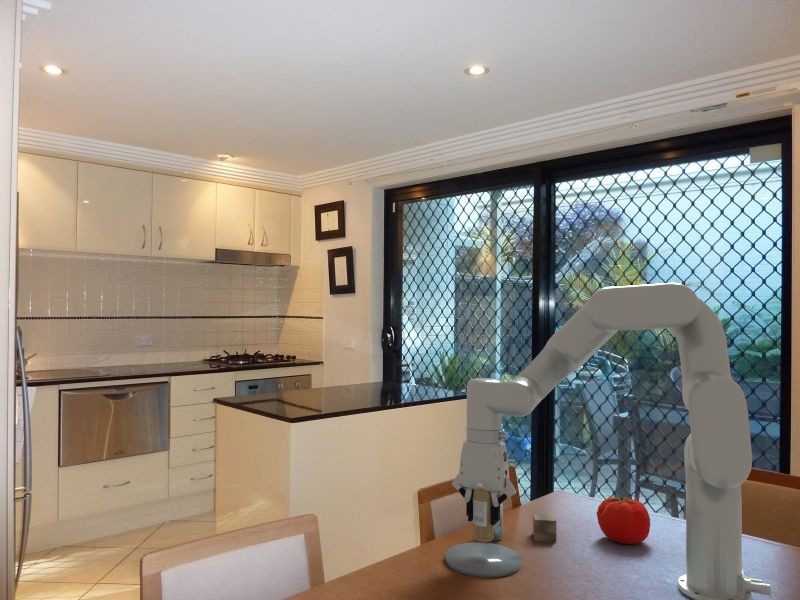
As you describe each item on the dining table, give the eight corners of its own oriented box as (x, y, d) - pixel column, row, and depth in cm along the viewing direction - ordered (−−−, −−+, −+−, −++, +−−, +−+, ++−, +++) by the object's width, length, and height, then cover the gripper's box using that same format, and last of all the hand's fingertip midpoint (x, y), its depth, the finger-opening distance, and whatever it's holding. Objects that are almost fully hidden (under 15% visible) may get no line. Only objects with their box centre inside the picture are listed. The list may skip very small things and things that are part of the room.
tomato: (653, 538, 146) (653, 494, 146) (646, 553, 136) (646, 507, 136) (602, 529, 152) (602, 487, 152) (592, 543, 142) (592, 499, 142)
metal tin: (505, 536, 146) (505, 502, 147) (498, 542, 142) (499, 508, 142) (485, 532, 149) (485, 499, 149) (478, 539, 144) (478, 504, 144)
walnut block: (553, 535, 148) (553, 514, 148) (556, 542, 143) (556, 520, 143) (532, 533, 148) (532, 513, 149) (534, 541, 143) (534, 519, 144)
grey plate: (529, 555, 134) (529, 550, 134) (507, 583, 120) (507, 577, 120) (461, 543, 141) (461, 537, 141) (433, 567, 127) (433, 561, 127)
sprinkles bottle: (498, 540, 130) (498, 476, 131) (481, 544, 128) (482, 479, 128) (483, 533, 134) (484, 471, 134) (467, 537, 131) (468, 474, 132)
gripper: (527, 437, 131) (526, 523, 130) (454, 429, 139) (453, 510, 138) (517, 443, 124) (516, 533, 124) (441, 435, 132) (440, 520, 131)
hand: (483, 520), depth 131 cm, fingers closed on sprinkles bottle, 4 cm apart
